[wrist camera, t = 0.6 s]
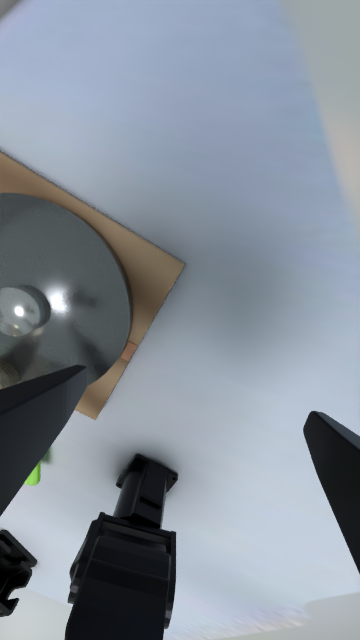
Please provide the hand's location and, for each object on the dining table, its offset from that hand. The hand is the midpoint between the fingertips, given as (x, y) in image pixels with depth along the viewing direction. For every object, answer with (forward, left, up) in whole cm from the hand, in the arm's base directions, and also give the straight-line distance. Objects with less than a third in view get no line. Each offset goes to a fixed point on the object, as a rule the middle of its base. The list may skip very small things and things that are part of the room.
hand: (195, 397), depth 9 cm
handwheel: (-7, +13, -12) cm, 19 cm away
